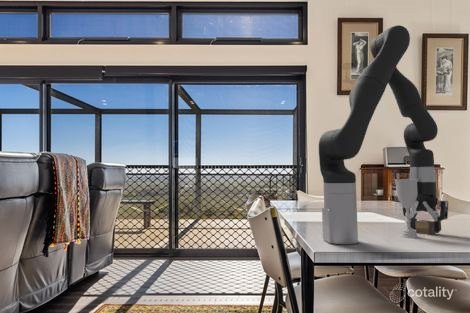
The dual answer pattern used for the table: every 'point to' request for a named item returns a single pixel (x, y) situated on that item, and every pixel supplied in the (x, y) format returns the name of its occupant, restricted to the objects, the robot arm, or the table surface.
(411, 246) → the table surface
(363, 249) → the table surface
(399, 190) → the chalice
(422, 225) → the walnut cube
